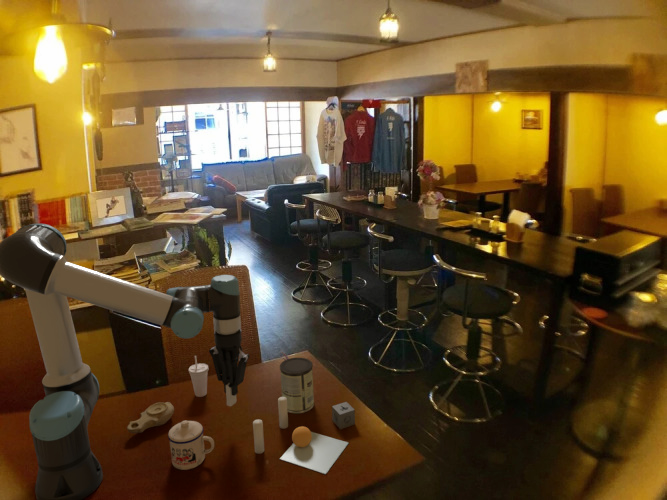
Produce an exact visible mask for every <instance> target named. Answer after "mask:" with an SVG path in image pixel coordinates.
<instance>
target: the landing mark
mask: <svg viewBox="0 0 667 500" xmlns="http://www.w3.org/2000/svg"><path fill="white" fill-rule="evenodd" d="M310 432H311V434H312V439H311V442H310V443H309V445H307V446H306V447H298V446H296V445H295V444H294V442H293V443H292V444H291V445H290V447H288V448H287V450H286V451H285V452H284V453H283V454H282V456H281V457H280V458H279V460H281V461H284V462H287V463H290V464H293V465H296V466H299V467H302V468H306V469H307V470H311V471H315V472H318V473H320V474H323V475H327V474H328V473H329V471H330V469H331V468H332V467H333V465H334V464H335V463H336V462H337V460H338V459H339V457H340V456H341V454H342V453H343V452H344V450H345V449H346V448H347V446H348V445H349V442H348V441H344V440H341V439H337V438H334V437H331V436H327V435H323V434H320V433H318V432H317V433H316V432H314V431H310Z"/></svg>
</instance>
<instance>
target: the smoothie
mask: <svg viewBox="0 0 667 500" xmlns="http://www.w3.org/2000/svg"><path fill="white" fill-rule="evenodd" d="M197 358H198V357H197V355H194V363H195V364H192V365H190V366H189V368H188V373H189V375H190V378H191V383H192V387H193V391H194V394H195V397H198V398H202V397H205V396H206V395H207V393H208V391H207V390H208V371H209V370H210V369H209V365H208V364H206V363H198V361H197Z"/></svg>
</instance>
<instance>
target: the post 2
mask: <svg viewBox="0 0 667 500" xmlns="http://www.w3.org/2000/svg"><path fill="white" fill-rule="evenodd" d="M277 406H278V407H277V409H278V424H279V425H278V426H279V428H280V429H288V427H289V417H288V416H289V415H288V413H289V412H288V411H287V398H286V397H282V396H280V397H279V398H278V399H277Z"/></svg>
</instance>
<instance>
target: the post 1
mask: <svg viewBox="0 0 667 500" xmlns="http://www.w3.org/2000/svg"><path fill="white" fill-rule="evenodd" d="M252 428H253V445H254V453H255V454H257V455H258V454H259V455H260V454H263V453H264V452H265V440H264V425H263V420H262V419H254V420H253V421H252Z"/></svg>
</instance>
